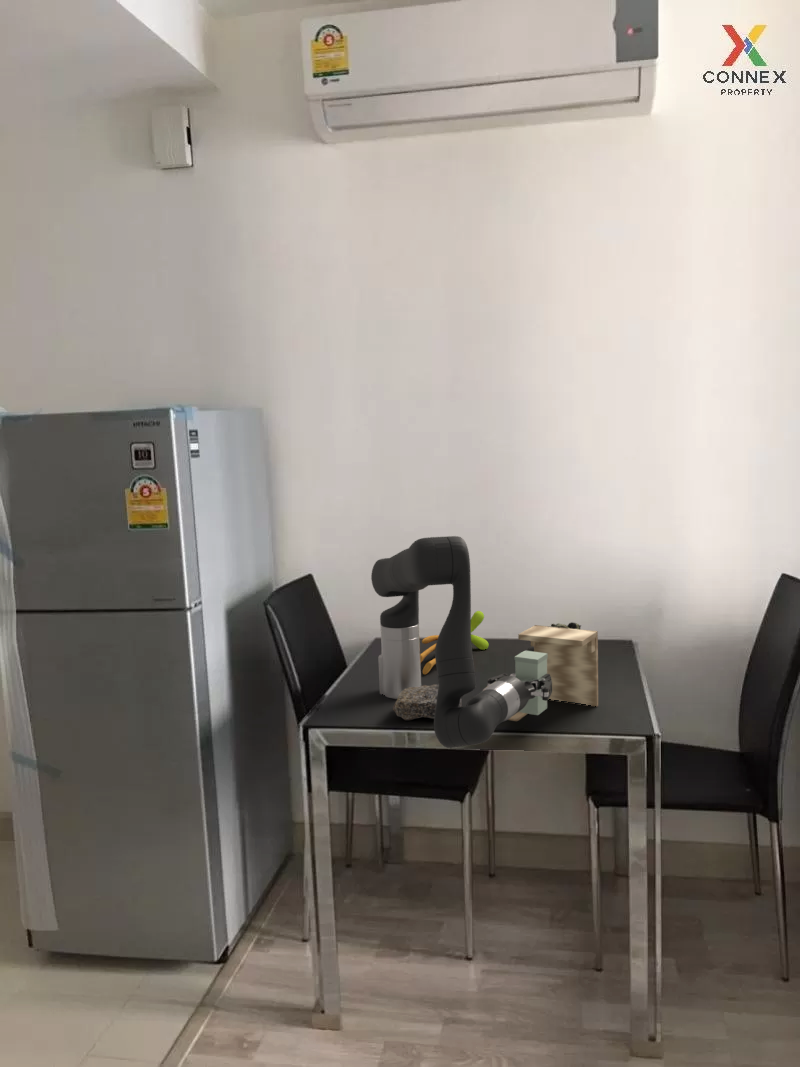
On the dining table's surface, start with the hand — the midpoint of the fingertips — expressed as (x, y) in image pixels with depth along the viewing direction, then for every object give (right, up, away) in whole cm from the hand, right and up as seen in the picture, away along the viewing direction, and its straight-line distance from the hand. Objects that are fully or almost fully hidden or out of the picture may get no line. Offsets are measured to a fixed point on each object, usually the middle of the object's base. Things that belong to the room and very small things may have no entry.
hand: (536, 676), depth 193 cm
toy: (-16, -4, +55) cm, 57 cm away
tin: (-1, -7, -1) cm, 7 cm away
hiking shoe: (+13, -3, +53) cm, 54 cm away
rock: (-23, -10, +10) cm, 27 cm away
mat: (-5, -9, +8) cm, 14 cm away
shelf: (+7, -9, +11) cm, 16 cm away
